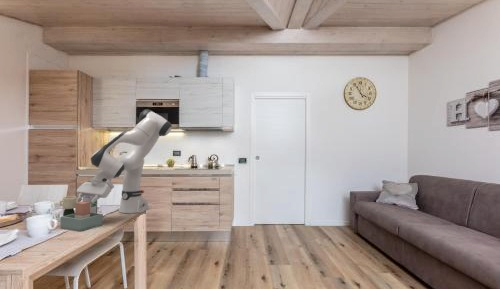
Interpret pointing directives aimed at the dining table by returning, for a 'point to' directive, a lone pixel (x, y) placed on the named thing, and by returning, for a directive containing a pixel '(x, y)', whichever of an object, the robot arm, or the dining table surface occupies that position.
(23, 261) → the dining table surface
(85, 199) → the syrup box
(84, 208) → the salmon pink two-tone box
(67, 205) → the character mug
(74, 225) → the tray
